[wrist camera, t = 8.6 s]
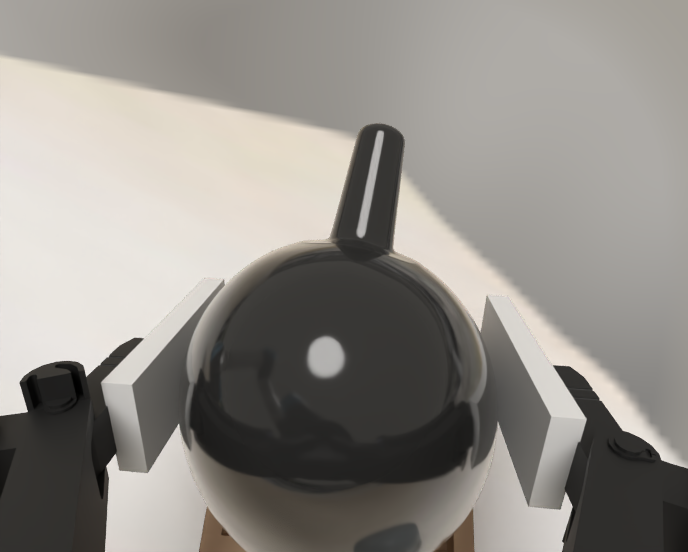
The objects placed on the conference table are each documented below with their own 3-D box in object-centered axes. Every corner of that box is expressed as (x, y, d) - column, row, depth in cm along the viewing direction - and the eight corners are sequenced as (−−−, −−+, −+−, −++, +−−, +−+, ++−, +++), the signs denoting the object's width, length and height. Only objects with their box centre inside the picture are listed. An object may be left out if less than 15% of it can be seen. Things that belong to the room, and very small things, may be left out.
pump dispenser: (471, 338, 22) (661, 121, 8) (442, 580, 18) (713, 960, 4) (275, 298, 23) (149, 49, 9) (208, 516, 19) (-181, 649, 5)
